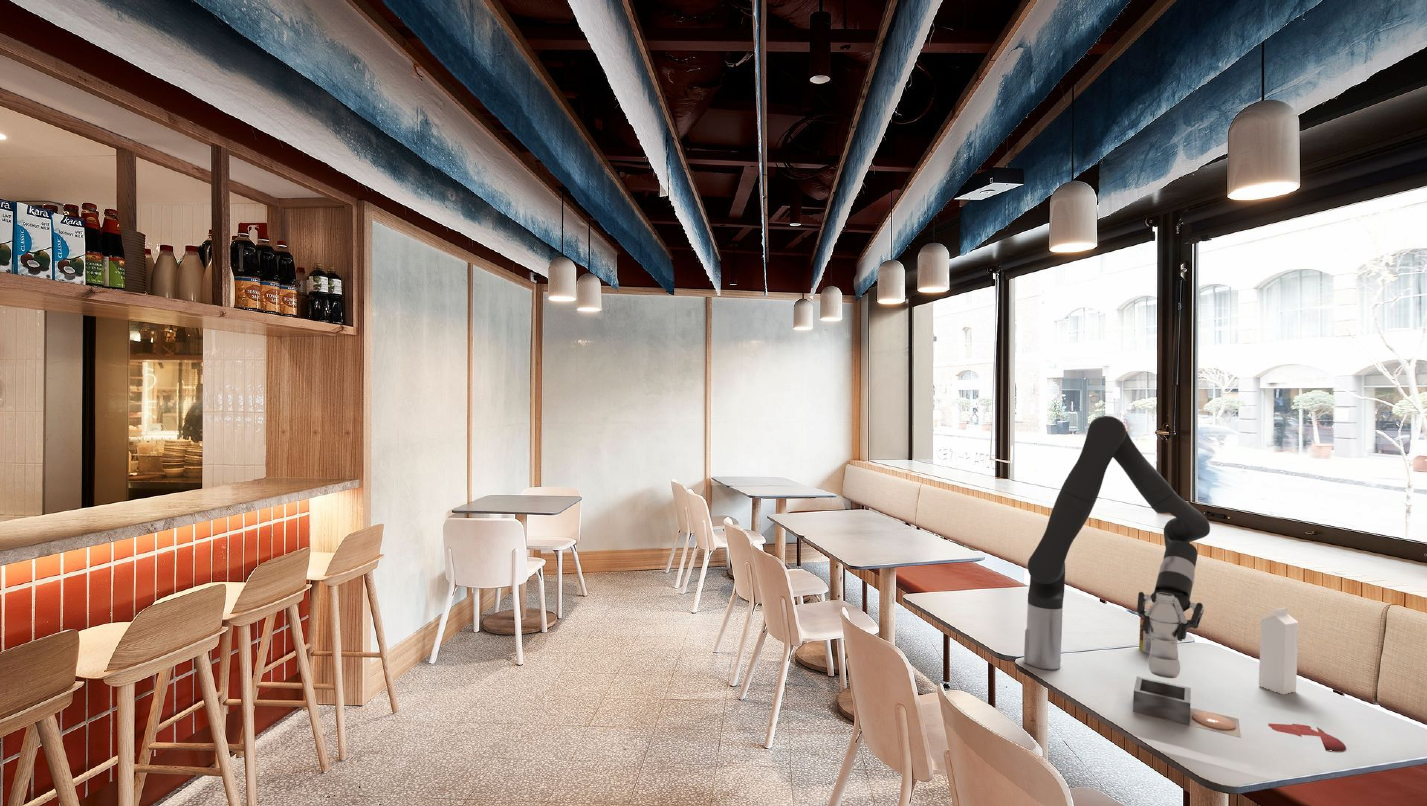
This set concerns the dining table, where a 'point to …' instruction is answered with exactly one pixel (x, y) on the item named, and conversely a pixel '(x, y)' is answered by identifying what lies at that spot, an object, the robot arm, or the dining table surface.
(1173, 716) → the wooden organizer tray
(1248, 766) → the dining table surface
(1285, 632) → the milk
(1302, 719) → the dining table surface
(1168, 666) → the plastic bottle
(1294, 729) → the red flat piece
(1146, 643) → the canned food
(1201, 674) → the dining table surface
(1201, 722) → the terracotta coaster
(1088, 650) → the dining table surface
